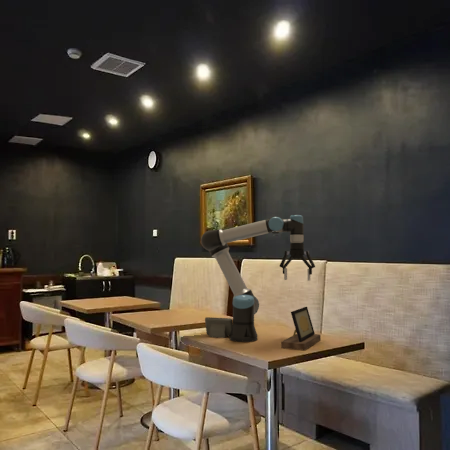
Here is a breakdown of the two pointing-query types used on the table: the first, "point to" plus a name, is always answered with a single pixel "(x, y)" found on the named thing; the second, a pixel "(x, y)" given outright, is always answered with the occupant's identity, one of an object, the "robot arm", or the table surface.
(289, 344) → the plinth
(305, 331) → the picture frame
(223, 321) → the digital clock
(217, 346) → the table surface
